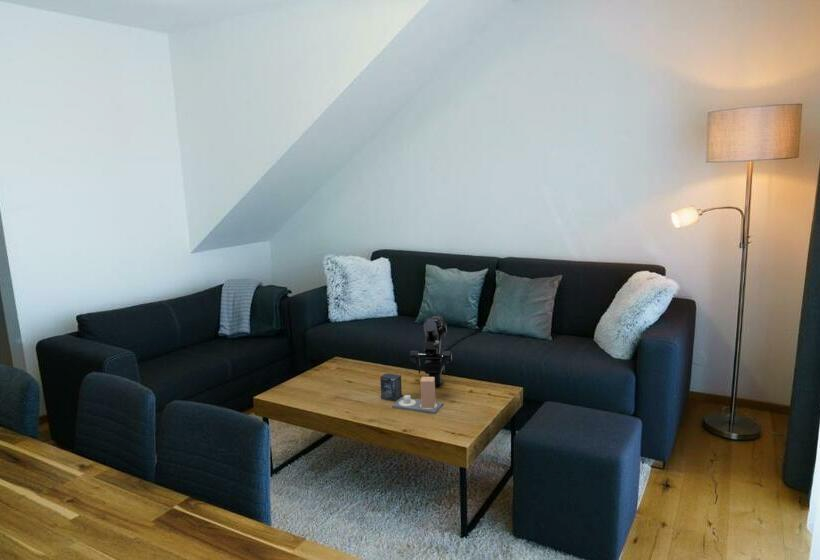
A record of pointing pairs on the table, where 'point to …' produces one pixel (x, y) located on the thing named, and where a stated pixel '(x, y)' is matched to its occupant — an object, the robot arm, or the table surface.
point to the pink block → (427, 392)
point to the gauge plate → (415, 405)
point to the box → (391, 387)
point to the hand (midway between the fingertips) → (429, 373)
